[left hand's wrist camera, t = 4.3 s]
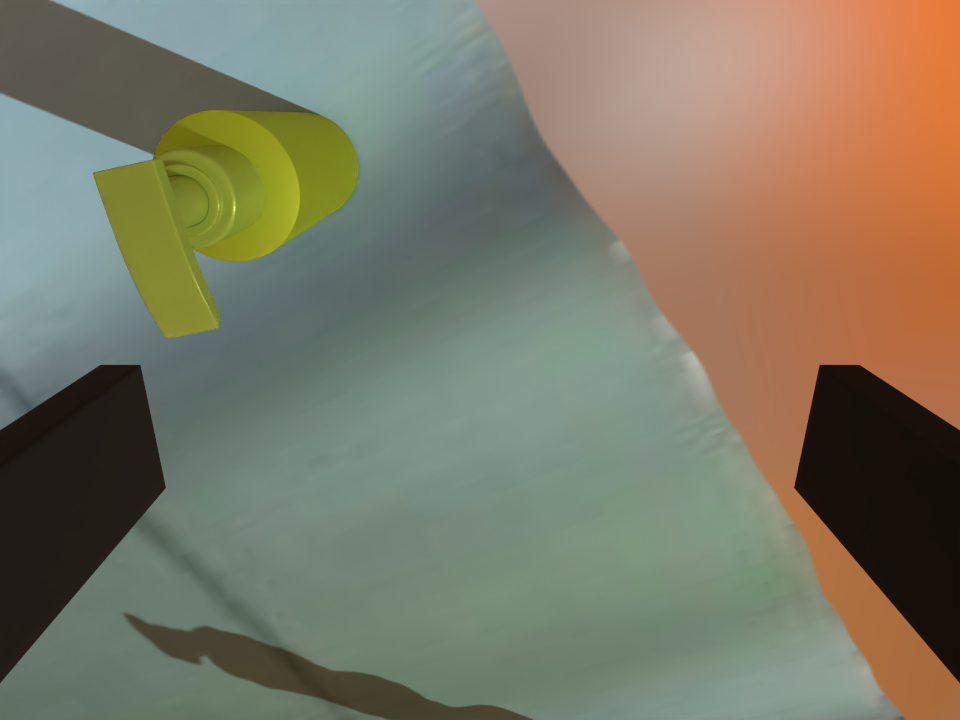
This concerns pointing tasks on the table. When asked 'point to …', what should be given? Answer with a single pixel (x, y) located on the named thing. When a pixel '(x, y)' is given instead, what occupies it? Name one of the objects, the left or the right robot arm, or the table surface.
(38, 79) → the table surface
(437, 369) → the table surface
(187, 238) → the soap dispenser
